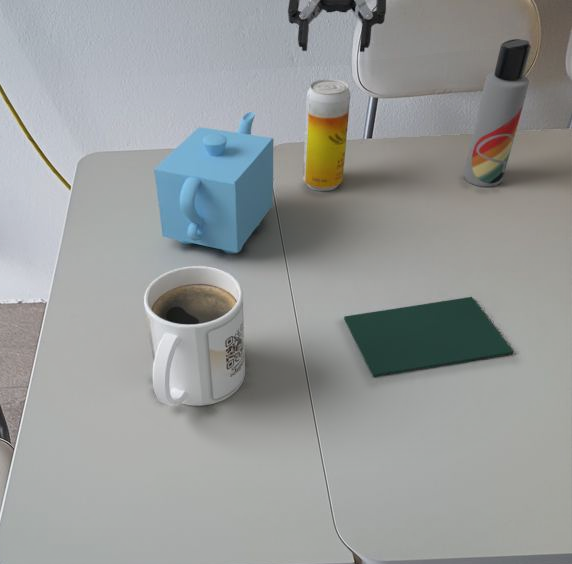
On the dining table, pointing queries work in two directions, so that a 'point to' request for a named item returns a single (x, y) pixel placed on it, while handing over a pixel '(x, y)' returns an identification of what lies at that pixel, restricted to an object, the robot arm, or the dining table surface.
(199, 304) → the mug
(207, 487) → the dining table surface
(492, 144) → the lotion bottle
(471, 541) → the dining table surface
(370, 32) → the robot arm
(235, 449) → the dining table surface
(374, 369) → the cloth
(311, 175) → the beer can
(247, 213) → the teapot
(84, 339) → the dining table surface
